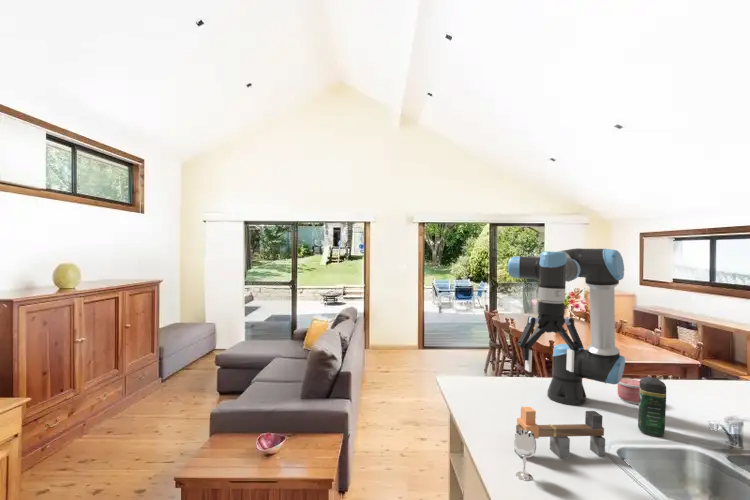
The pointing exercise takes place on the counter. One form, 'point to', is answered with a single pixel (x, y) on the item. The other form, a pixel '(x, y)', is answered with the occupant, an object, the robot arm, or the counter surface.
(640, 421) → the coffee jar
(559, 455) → the beam
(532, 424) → the rider
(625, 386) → the container
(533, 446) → the wineglass
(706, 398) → the counter surface
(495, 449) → the counter surface
